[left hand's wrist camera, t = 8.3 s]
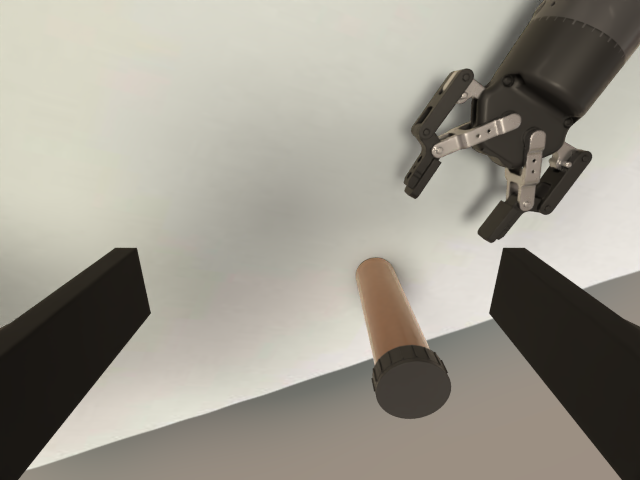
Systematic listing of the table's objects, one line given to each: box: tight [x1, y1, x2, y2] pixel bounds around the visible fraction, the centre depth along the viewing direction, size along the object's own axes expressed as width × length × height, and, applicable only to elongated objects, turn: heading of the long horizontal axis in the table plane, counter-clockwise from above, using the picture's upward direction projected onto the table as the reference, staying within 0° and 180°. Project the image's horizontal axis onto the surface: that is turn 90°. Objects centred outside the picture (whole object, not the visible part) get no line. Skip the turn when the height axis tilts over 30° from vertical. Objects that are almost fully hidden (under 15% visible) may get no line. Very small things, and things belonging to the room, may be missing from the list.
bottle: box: [356, 258, 430, 364], centre depth 33 cm, size 4×4×17 cm
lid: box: [372, 345, 451, 419], centre depth 25 cm, size 5×5×2 cm
